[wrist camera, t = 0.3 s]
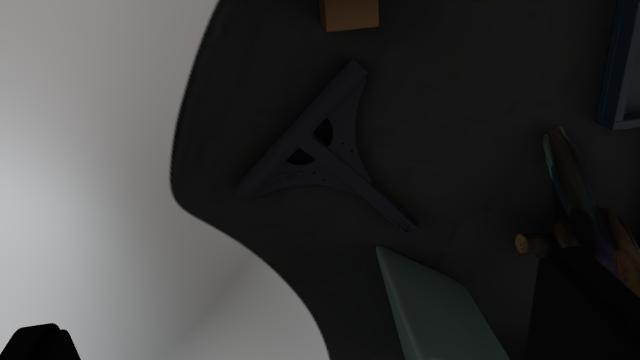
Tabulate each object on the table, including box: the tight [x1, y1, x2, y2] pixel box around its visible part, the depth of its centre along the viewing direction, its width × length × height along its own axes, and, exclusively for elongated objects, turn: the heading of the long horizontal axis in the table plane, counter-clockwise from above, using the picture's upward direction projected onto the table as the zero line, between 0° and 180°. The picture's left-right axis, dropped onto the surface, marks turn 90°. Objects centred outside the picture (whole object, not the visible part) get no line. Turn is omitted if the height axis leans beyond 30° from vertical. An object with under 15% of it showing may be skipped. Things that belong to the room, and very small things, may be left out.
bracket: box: [234, 58, 420, 237], centre depth 39 cm, size 14×15×3 cm
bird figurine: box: [515, 127, 640, 298], centre depth 40 cm, size 13×10×20 cm
